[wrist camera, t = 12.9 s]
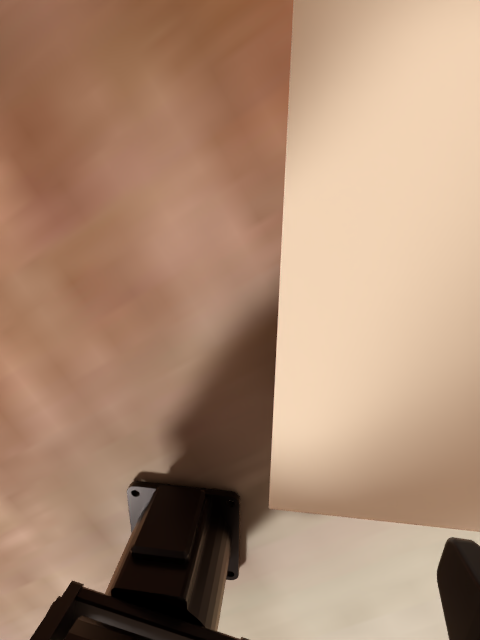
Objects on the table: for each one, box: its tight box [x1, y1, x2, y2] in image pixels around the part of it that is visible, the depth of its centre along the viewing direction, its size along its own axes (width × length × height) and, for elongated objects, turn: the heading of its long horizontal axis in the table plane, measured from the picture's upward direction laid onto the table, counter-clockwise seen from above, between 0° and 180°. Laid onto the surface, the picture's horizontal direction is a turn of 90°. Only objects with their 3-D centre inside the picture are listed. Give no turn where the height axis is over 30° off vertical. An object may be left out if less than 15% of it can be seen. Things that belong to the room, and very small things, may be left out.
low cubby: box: [269, 0, 480, 532], centre depth 13 cm, size 20×10×7 cm, turn 0°
